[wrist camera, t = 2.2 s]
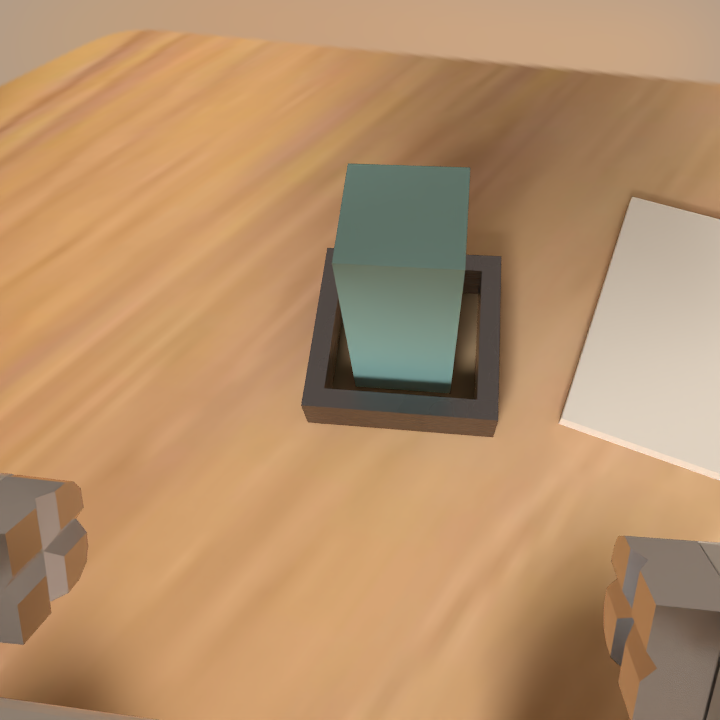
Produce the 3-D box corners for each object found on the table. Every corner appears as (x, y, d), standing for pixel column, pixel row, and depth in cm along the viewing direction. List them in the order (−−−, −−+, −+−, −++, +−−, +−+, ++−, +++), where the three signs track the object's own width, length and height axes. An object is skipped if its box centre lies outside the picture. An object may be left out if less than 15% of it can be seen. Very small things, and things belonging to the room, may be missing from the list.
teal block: (355, 386, 28) (331, 263, 20) (365, 306, 29) (347, 163, 21) (450, 393, 27) (465, 270, 19) (454, 311, 29) (470, 167, 21)
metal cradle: (307, 422, 27) (301, 405, 25) (331, 271, 30) (327, 247, 29) (492, 437, 26) (498, 420, 24) (496, 279, 29) (501, 256, 28)
